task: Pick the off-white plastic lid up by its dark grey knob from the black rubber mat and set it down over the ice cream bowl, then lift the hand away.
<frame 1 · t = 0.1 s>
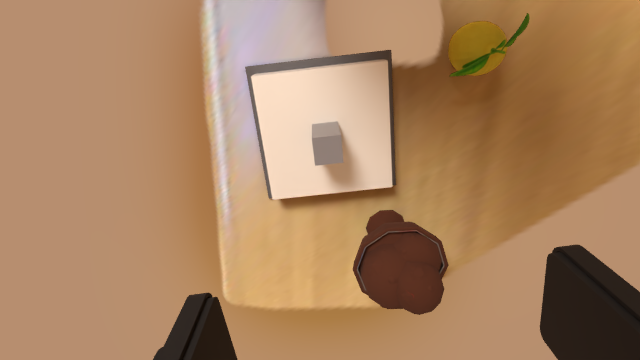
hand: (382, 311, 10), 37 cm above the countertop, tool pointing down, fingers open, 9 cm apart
lemon: (463, 45, 42), on the countertop
ice cream bowl: (385, 226, 51), on the countertop
mat: (325, 129, 46), on the countertop
lid: (325, 129, 45), resting on mat
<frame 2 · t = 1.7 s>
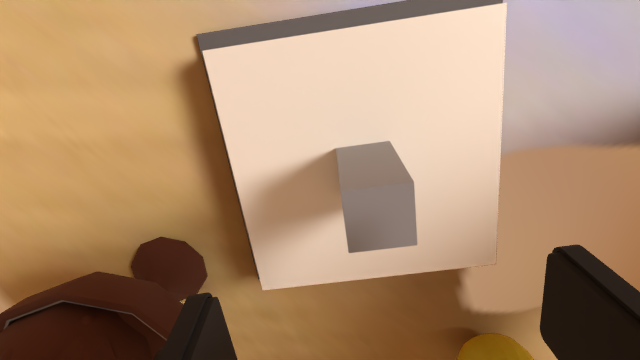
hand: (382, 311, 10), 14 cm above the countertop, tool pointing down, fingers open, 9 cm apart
lemon: (480, 337, 30), on the countertop
ice cream bowl: (171, 267, 27), on the countertop
mat: (360, 153, 24), on the countertop
lid: (361, 155, 23), resting on mat
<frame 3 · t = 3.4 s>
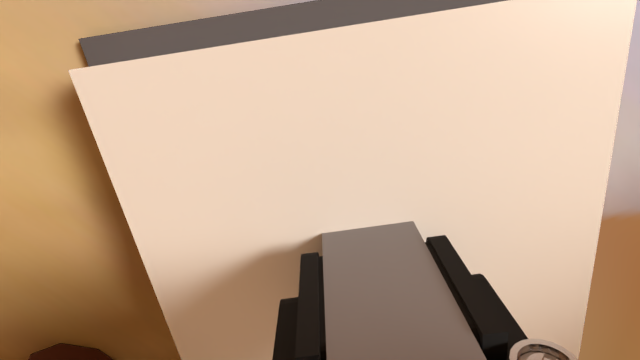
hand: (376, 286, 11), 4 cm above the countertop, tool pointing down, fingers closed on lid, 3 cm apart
mat: (361, 224, 15), on the countertop
lid: (362, 228, 15), resting on mat, touching gripper
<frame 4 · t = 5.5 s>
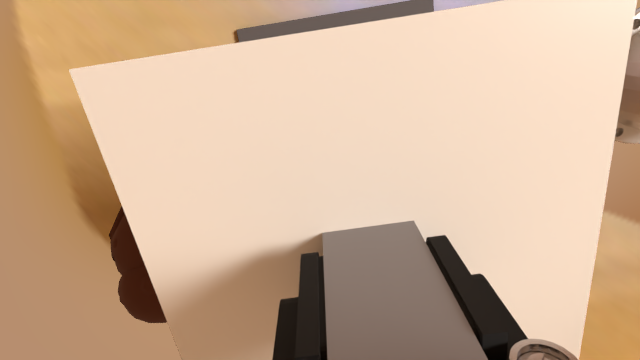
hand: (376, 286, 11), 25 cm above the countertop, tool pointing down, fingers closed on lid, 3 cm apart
ice cream bowl: (212, 197, 38), on the countertop
mat: (345, 110, 35), on the countertop
lid: (362, 228, 15), point 22 cm above the countertop, touching gripper
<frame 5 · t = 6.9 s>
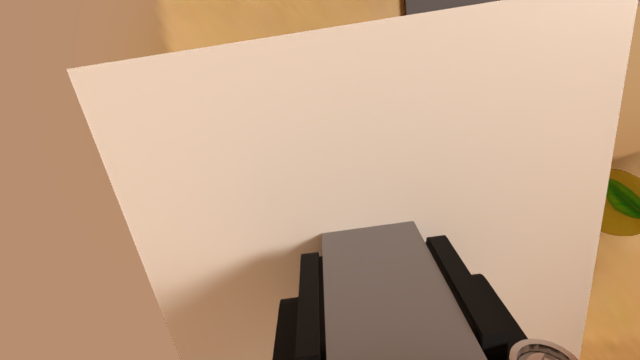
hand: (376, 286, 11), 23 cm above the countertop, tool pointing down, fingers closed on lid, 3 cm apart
lemon: (582, 184, 36), on the countertop
mat: (510, 9, 30), on the countertop
lid: (362, 228, 15), point 20 cm above the countertop, touching gripper
when the fingers open (19 cm above the countertop, at t = 7.8 s): lid drops 2 cm, resting on ice cream bowl.
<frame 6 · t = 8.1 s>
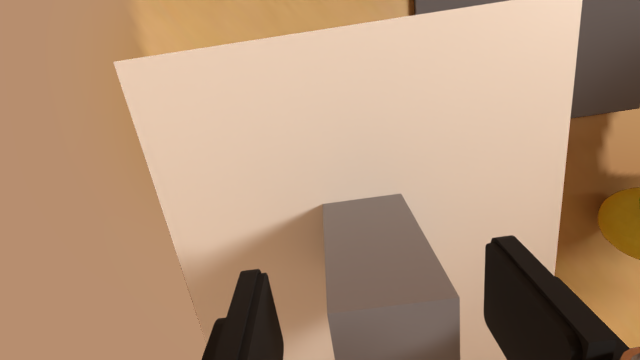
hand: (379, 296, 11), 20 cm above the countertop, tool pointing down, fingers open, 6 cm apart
lemon: (610, 202, 32), on the countertop
mat: (534, 7, 26), on the countertop
lid: (358, 206, 17), point 13 cm above the countertop, touching ice cream bowl
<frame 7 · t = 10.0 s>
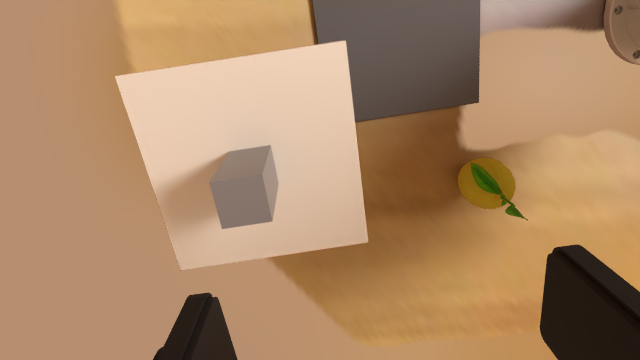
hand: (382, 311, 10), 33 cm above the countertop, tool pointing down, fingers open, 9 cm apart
lemon: (471, 171, 45), on the countertop
mat: (398, 34, 38), on the countertop
lid: (258, 157, 29), point 13 cm above the countertop, touching ice cream bowl
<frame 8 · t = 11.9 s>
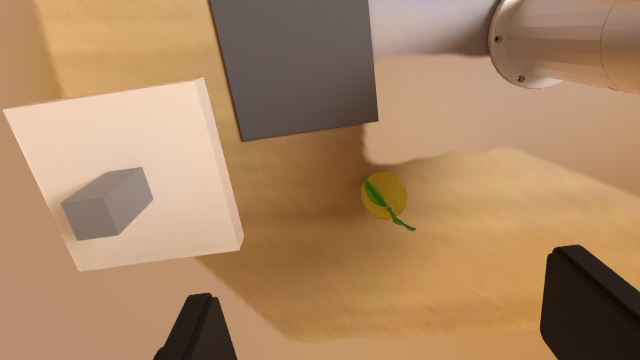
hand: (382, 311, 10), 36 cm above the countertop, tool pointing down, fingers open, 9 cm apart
lemon: (379, 183, 48), on the countertop
mat: (298, 59, 42), on the countertop
lid: (143, 175, 33), point 13 cm above the countertop, touching ice cream bowl
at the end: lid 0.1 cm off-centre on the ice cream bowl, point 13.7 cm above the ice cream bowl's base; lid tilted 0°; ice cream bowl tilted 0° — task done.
